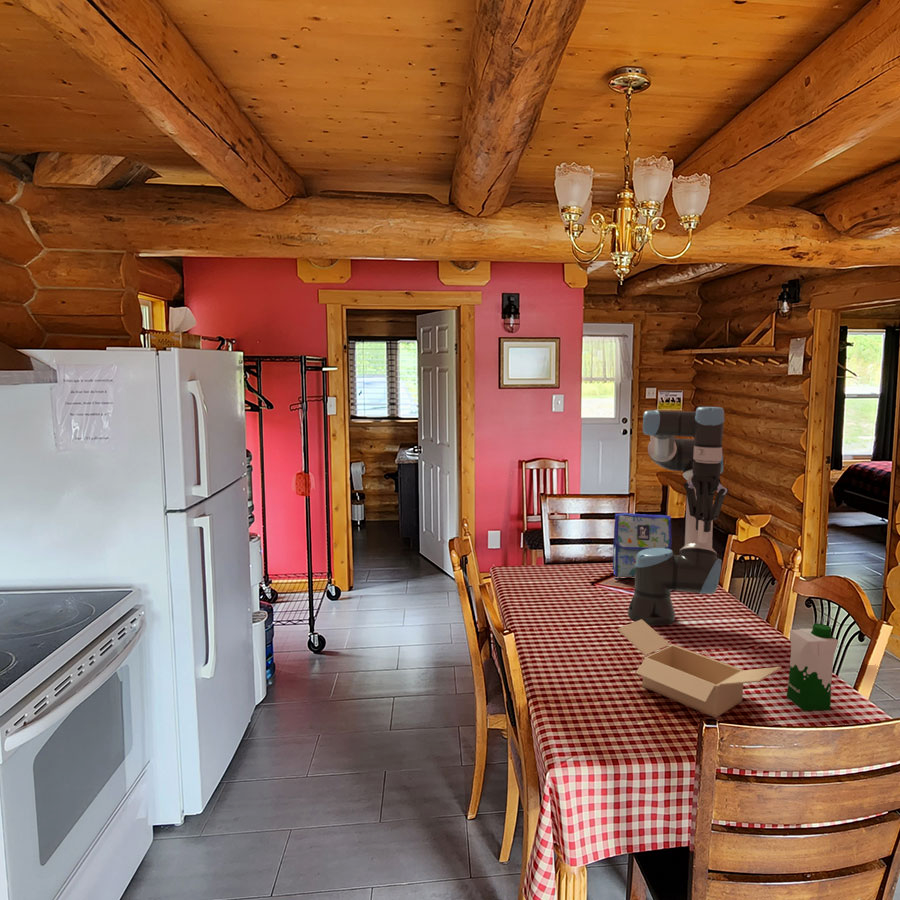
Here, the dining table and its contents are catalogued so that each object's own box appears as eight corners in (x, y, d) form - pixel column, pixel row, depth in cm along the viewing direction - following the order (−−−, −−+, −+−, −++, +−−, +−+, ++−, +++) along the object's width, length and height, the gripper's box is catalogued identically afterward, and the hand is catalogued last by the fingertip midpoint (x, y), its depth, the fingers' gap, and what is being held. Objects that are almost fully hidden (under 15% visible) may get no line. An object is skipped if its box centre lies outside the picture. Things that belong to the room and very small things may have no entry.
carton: (632, 691, 168) (634, 661, 167) (678, 668, 182) (680, 640, 181) (706, 724, 153) (708, 691, 152) (750, 695, 166) (752, 665, 165)
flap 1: (645, 655, 170) (617, 629, 177) (669, 644, 178) (641, 620, 184) (645, 655, 170) (617, 628, 177) (669, 644, 178) (641, 619, 184)
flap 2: (719, 683, 155) (758, 680, 147) (742, 670, 162) (781, 666, 155) (720, 685, 155) (759, 681, 147) (743, 671, 162) (781, 667, 155)
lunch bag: (613, 581, 258) (616, 517, 255) (610, 569, 274) (613, 508, 271) (672, 585, 254) (675, 519, 251) (665, 572, 271) (668, 511, 268)
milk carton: (836, 711, 159) (843, 633, 157) (801, 713, 158) (807, 634, 156) (813, 694, 168) (819, 619, 165) (780, 695, 167) (785, 620, 164)
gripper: (679, 459, 188) (674, 539, 190) (721, 465, 177) (716, 549, 180) (693, 457, 192) (689, 535, 195) (735, 463, 182) (730, 545, 185)
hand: (702, 542), depth 188 cm, fingers closed
